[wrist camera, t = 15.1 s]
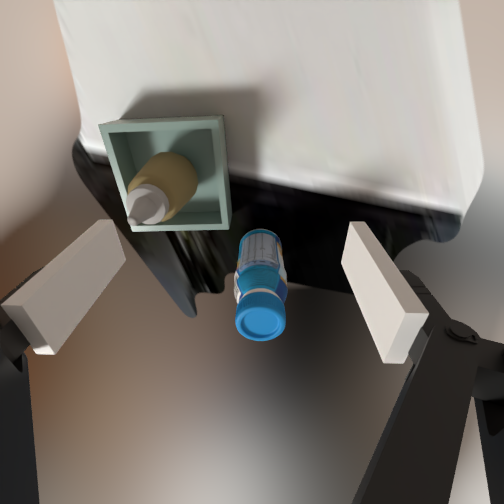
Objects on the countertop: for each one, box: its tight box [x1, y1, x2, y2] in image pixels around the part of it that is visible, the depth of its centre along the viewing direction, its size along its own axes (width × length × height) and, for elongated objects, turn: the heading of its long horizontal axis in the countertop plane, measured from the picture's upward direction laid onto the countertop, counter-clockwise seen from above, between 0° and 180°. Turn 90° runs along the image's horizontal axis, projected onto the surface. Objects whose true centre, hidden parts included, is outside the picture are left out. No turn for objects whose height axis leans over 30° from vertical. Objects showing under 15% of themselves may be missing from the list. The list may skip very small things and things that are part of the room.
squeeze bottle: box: [126, 152, 198, 226], centre depth 35 cm, size 8×8×18 cm
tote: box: [98, 115, 232, 232], centre depth 41 cm, size 16×16×6 cm
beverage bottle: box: [234, 229, 287, 341], centre depth 43 cm, size 8×8×20 cm
